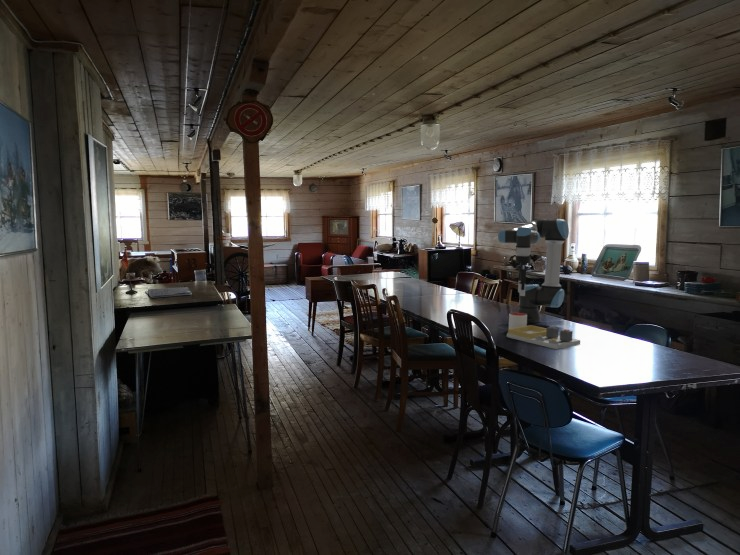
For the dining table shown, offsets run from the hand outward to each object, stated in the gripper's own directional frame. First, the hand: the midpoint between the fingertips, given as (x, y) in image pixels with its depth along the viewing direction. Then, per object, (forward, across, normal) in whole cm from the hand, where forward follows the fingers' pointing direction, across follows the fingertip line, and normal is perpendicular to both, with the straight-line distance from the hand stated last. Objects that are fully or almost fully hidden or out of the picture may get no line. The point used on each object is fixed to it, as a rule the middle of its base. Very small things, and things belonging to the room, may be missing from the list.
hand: (521, 294), depth 289 cm
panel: (+24, +7, +11) cm, 27 cm away
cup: (+24, -14, 0) cm, 28 cm away
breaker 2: (+21, +14, +22) cm, 34 cm away
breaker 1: (+21, +9, +16) cm, 28 cm away
